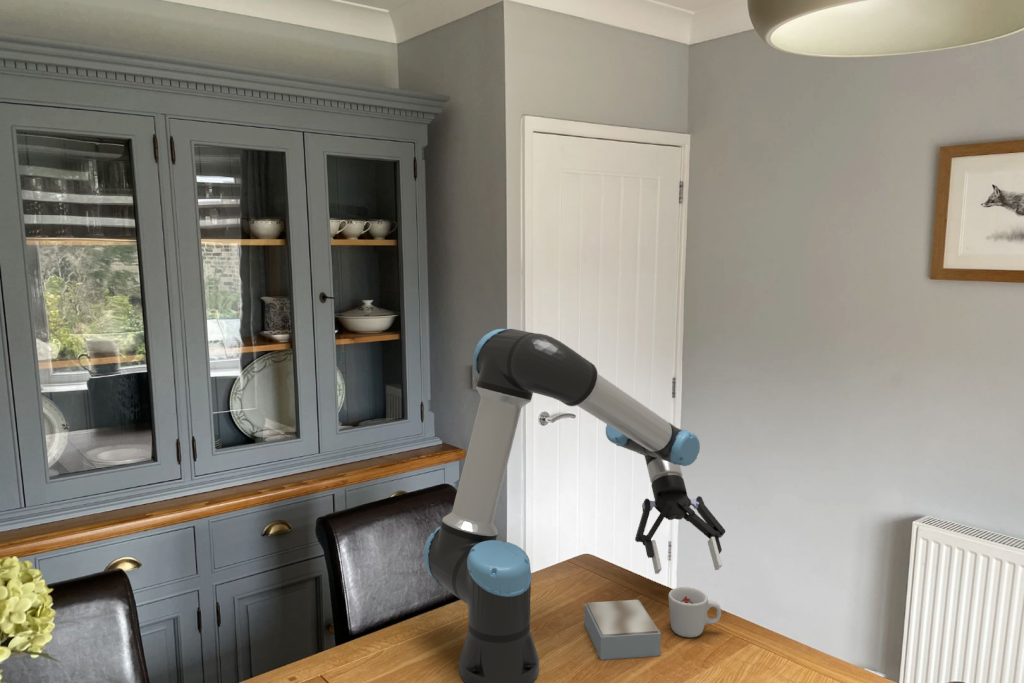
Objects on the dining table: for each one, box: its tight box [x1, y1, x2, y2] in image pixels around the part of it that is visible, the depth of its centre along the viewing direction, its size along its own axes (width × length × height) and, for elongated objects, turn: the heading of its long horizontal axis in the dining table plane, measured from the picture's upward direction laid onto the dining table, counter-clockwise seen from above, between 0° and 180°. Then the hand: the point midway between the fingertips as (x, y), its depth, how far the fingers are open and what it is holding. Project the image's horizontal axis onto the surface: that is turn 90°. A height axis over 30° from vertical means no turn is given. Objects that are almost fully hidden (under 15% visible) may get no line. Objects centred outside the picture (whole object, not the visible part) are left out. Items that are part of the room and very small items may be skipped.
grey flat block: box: [583, 599, 662, 661], centre depth 152 cm, size 12×14×5 cm
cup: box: [668, 586, 722, 638], centre depth 155 cm, size 11×8×8 cm
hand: (688, 569), depth 160 cm, fingers open, 13 cm apart
